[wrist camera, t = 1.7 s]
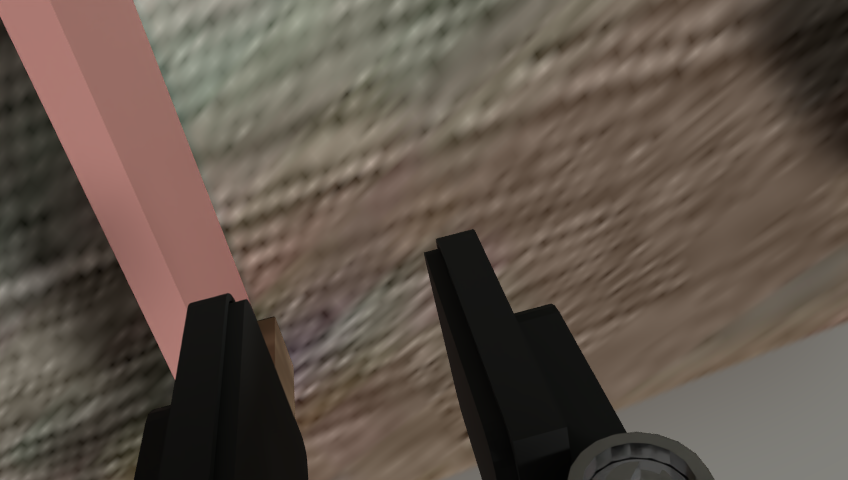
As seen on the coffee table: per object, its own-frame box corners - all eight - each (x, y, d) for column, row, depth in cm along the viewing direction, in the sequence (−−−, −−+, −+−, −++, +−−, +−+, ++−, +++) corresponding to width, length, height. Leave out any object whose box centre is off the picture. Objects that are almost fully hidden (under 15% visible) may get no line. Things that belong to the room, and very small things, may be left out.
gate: (29, -134, 24) (-78, -104, 16) (78, -145, 24) (-7, -121, 16) (219, 320, 33) (204, 467, 25) (254, 310, 33) (249, 455, 26)
